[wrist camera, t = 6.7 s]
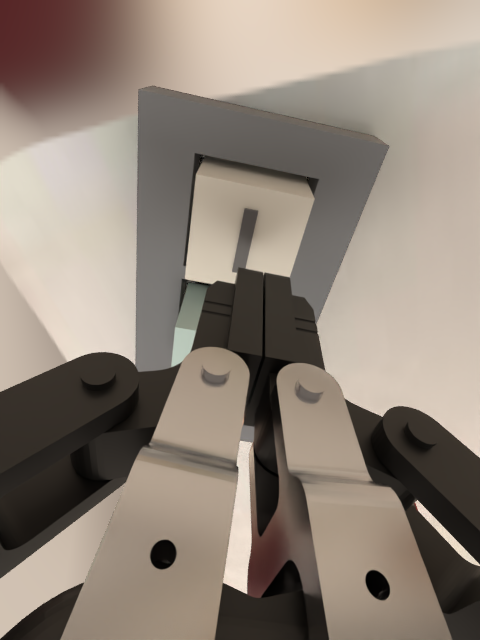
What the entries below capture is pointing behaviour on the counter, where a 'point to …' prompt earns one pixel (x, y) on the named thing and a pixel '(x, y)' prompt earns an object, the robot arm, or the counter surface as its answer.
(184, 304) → the teal tile
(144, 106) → the frame
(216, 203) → the cream tile
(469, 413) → the counter surface
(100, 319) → the counter surface
